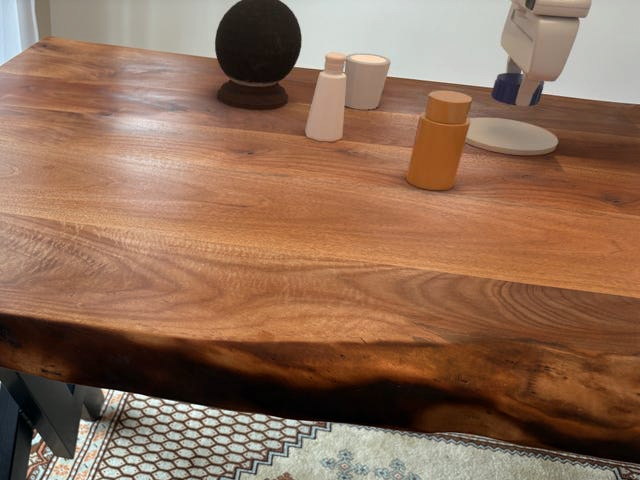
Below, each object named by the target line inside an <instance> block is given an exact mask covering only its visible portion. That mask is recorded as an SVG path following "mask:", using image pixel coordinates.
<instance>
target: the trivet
mask: <svg viewBox="0 0 640 480" xmlns="http://www.w3.org/2000/svg"><path fill="white" fill-rule="evenodd" d="M469 119H470V121H471V123H470V126H469V130H468V134H467V138H466V141H465V144H468V145H470V146H473V147H475V148H478V149H481V150H485V151H489V152H494V153H498V154H504V155H512V156H540V155H541V156H542V155H546V154H550V153H552V152H554V151H555V150H556V149H557V147H558V144H559V139H558V137H557V136H556V135H555V134H554V133H553V132H551V131H548V130H547V129H545V128H542V127H540V126H538V125H534V124H531V123H528V122H523V121H519V120H514V119H508V118H501V117H472V118H471V117H470V118H469Z"/></svg>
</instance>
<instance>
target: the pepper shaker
mask: <svg viewBox="0 0 640 480" xmlns="http://www.w3.org/2000/svg"><path fill="white" fill-rule="evenodd" d="M346 56H347V55H346V54H344V53H341V52H328V53H325V56H324V59H325V61H324V64H323V65H324V68H323V70H322V71H320V72H319V73H318V74H319V75H318V77H317V81H316V86H315V89H314V93H313V97H312V100H311V101H312V102H311V105H310V109H309V113H308V116H307V121H306V125H305V129H304V133H305V136H306V138H308V139H311V140H314V141H316V142H327V143H329V142H330V143H334V142H336V141H339V140H342V139H343V132H344V120H345V119H344V118H345V107H346V106H345V92H346V75H345V61H346V58H347V57H346Z"/></svg>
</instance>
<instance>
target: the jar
mask: <svg viewBox="0 0 640 480" xmlns="http://www.w3.org/2000/svg"><path fill="white" fill-rule="evenodd" d="M427 97H428V100H427V104H426V108H425V111H422V112H421V113H420V115H419V119H418V124H417V127H416V132H415V137H414V140H413V144H412V145H413V146H412V149H411V154H410V158H409V162H408V167H407V171H406V176H405V180H406V181H407V183H408V184H410V185H411V186H413V187H417V188H420V189H423V190H428V191H448V190H450V189H452V188H453V187H454V185H455V181H456V178H457V175H458V171H459V167H460V163H461V159H462V155H463V152H464V148H465V145H466V142H465V141H466V138H467V134H468V130H469V126H470V123H471V121H470V118H469V113H470V109H471V105H472V102H473V98H472V97H471V96H470V95H468V94H466V93H462V92H459V91H453V90H452V91H451V90H434V91H431V92H430V93H428V94H427Z"/></svg>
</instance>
